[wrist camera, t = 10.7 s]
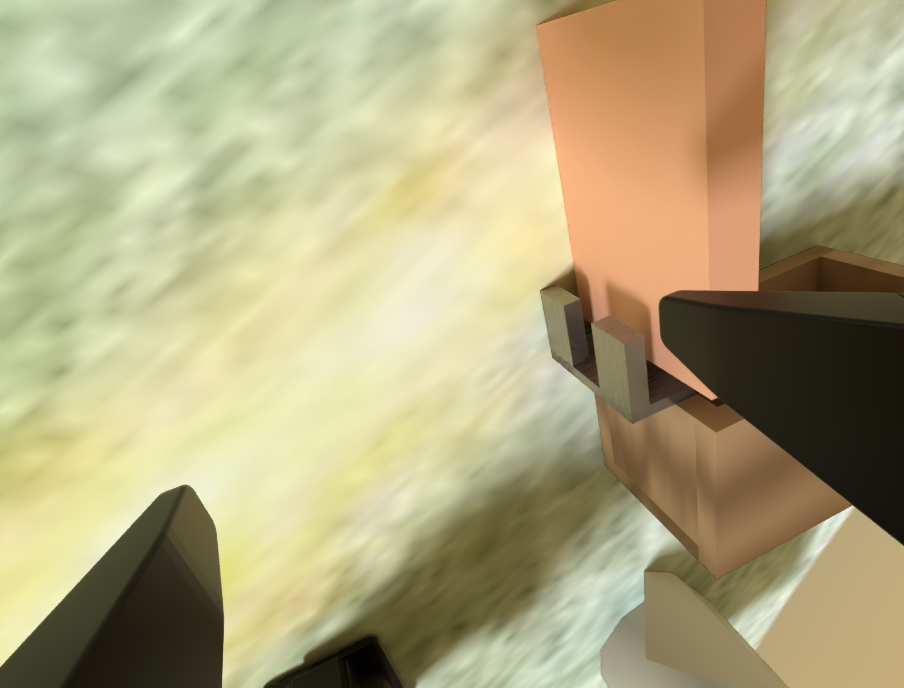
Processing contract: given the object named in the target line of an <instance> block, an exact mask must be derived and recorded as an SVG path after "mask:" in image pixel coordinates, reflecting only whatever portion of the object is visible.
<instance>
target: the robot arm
mask: <svg viewBox="0 0 904 688" xmlns="http://www.w3.org/2000/svg"><path fill="white" fill-rule="evenodd" d="M658 308H659V326H660V337H661V340H662V342H663V344H664V346H665V347H666V348H667V349H668V350H669V351H670V352H671V353H672V354H673V355H674V356H675V357H676V358H677V359H678V360H679V361H680V362H681V363H682V364H683V365H684V366H685V367H687V368H688V369H689V370H690V371H691V372H692V373H693V374H694V375H695V376H696V377H697V378H698V379H699V380H700V381H701V382H702V383H703V384H704V385H705V386H706V387H707V388H708V389H709V390H710V391H711V392H712V393H713V394H715V395H716V396H717V397H718V398H719V399H720V400H721V401H723V402H724V403H725V404H726V405H727V406H729V407H730V408H731V409H732V410H734V411H735V412H736V413H738V414H739V415H740V416H741V417H743V418H744V419H745V420H746V421H748V422H749V423H750V424H751V425H753V426H754V427H755V428H756V429H758V430H759V431H760V432H761V433H763V434H764V435H765V436H766V437H768V438H769V439H770V440H771V441H773V442H774V443H775V444H776V445H778V446H779V447H780V448H781V449H783V450H784V451H785V452H786V453H788V454H789V455H790V456H792V457H793V458H794V459H795V460H797V461H798V462H799V463H800V464H802V465H803V466H804V467H805V468H807V469H808V470H809V471H810V472H812V473H813V474H814V475H815V476H817V477H818V478H819V479H820V480H822V481H823V482H824V483H825V484H827V485H828V486H829V487H830V488H832V489H833V490H834V491H835V492H837V493H838V494H839V495H841V496H842V497H843V498H844V499H846V500H847V501H848V502H849V503H851V504H852V505H853V506H854V507H856V508H857V509H858V510H859V511H861V512H862V513H863V514H864V515H866V516H867V517H868V518H870V519H871V520H872V521H873V522H875V523H876V524H877V525H878V526H880V527H881V528H882V529H883V530H884V531H886V532H887V533H888V534H889V535H891V536H892V537H893V538H895V539H896V540H897V541H898V542H900V543H901V544H902V545H903V546H904V293H899V294H895V293H865V292H790V291H714V290H679V291H676V292H673V293H670V294H668V295H665V296H663V297H662V298H661V299H660V301H659V306H658ZM223 641H224V611H223V597H222V586H221V575H220V564H219V553H218V542H217V532H216V528H215V525H214V522H213V520H212V518H211V517H210V515H209V513H208V512H207V510H206V509H205V507H204V505H203V504H202V502H201V500H200V499H199V497H198V496H197V494H196V492H195V491H194V490H193V488H192V487H190V486H189V485H181V486H179V487H176V488H174V489H171V490H169V491H166V492H164V493H162V494H160V495H159V496H158V497H157V498H156V499H155V500H154V502H153V503H152V504H151V505H150V506H149V507H148V508H147V509H146V510H145V511H144V512H143V513H142V515H141V516H140V517H139V518H138V519H137V520H136V521H135V522H134V523H133V524H132V525H131V526H130V528H129V529H128V530H127V531H126V532H125V533H124V534H123V535H122V536H121V537H120V538H119V539H118V540H117V542H116V543H115V544H114V545H113V546H112V547H111V548H110V549H109V550H108V551H107V552H106V553H105V555H104V556H103V557H102V558H101V559H100V560H99V561H98V562H97V563H96V564H95V565H94V566H93V567H92V569H91V570H90V571H89V572H88V573H87V574H86V575H85V576H84V577H83V578H82V579H81V580H80V582H79V583H78V584H77V585H76V586H75V587H74V588H73V589H72V590H71V591H70V592H69V593H68V594H67V596H66V597H65V598H64V599H63V600H62V601H61V602H60V603H59V604H58V605H57V606H56V607H55V609H54V610H53V611H52V612H51V613H50V614H49V615H48V616H47V617H46V618H45V619H44V620H43V622H42V623H41V624H40V625H39V626H38V627H37V628H36V629H35V630H34V631H33V632H32V633H31V634H30V636H29V637H28V638H27V639H26V640H25V641H24V642H23V643H22V644H21V645H20V646H19V647H18V649H17V650H16V651H15V652H14V653H13V654H12V655H11V656H10V657H9V658H8V659H7V660H6V661H5V663H4V664H3V665H2V666H1V667H0V688H222V669H223ZM268 688H405V686H404V684H403V682H402V680H401V678H400V677H399V675H398V673H397V671H396V669H395V668H394V666H393V664H392V662H391V660H390V658H389V657H388V655H387V653H386V651H385V649H384V647H383V646H382V644H381V642H380V640H379V639H378V638H377V637H369V638H366V639H364V640H362V641H360V642H358V643H356V644H354V645H352V646H350V647H348V648H346V649H344V650H342V651H340V652H338V653H336V654H334V655H332V656H330V657H328V658H326V659H324V660H322V661H320V662H318V663H316V664H314V665H312V666H310V667H308V668H306V669H304V670H302V671H300V672H298V673H296V674H294V675H292V676H290V677H288V678H286V679H284V680H282V681H280V682H278V683H276V684H274V685H272V686H270V687H268Z"/></svg>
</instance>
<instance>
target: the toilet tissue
mask: <svg viewBox="0 0 904 688" xmlns="http://www.w3.org/2000/svg"><path fill="white" fill-rule="evenodd" d="M644 597H645V602H644V603H642V604H641V605H640V606H638V607H637V608H635V609H634V610H632V611H631V612H629V613H628V614H627V615H625V616H624V617H622V619H621V620H620V622H619V623H618V624H617V626H616V627H615V629H614V630H613V632H612V633H611V635H610V636H609V638H608V639H607V641H606V642H605V643H604V645H603V646H602V648H601V649H600V655H601V676H602V678H603V679H604V681H605V683H606V684H607V686H608V687H609V688H789V687H788V686H787V685H786V684H785V683H784V681H783V680H782V679H781V678H780V677H779V676H778V675H777V674H776V673H775V672H774V671H773V670H772V668H770V666H769V665H768V664H767V663H766V662H765V661H764V660H763V659H762V658H761V657H760V656H759V654H758V653H757V652H756V651H755V650H754V649H753V648H752V647H751V646H750V645H749V644H748V642H747V641H746V640H745V639H744V638H743V637H742V636H741V635H740V634H739V633H738V632H737V631H736V630H735V628H734V627H733V626H732V625H731V624H730V623H729V622H728V621H727V620H726V619H725V618H724V617H723V615H722V614H721V613H720V612H719V611H718V610H717V609H716V608H715V607H714V606H713V605H712V604H711V602H710V601H709V600H708V599H706V598H705V597H704V596H702V595H701V594H700V593H698V592H697V591H696V590H694V589H693V588H692V587H690V586H689V585H688V584H686V583H685V582H684V581H682V580H681V579H680V578H678V577H677V576H676V575H674V574H673V573H665V572H650V571H644Z"/></svg>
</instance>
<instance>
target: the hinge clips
mask: <svg viewBox="0 0 904 688" xmlns="http://www.w3.org/2000/svg"><path fill="white" fill-rule="evenodd" d="M540 293H541V299H542V304H543V310H544V315H545V320H546V326H547V331H548V336H549V342H550V347H551V353H552V358H553V359H555V360H556V361H557V362H558V363H559V364H561V365H562V366H563V367H564V368H565V369H567V370H568V371H569V372H570V373H571V374H573V375H574V376H575V377H576V378H578V379H579V380H580V381H581V382H582V383H584V384H585V385H586V386H587V387H588V388H590V389H591V390H592V391H593V392H594V393H596V394H597V395H598V396H599V397H600V398H602V399H603V400H604V401H605V402H606V403H608V404H609V405H610V406H611V407H612V408H614V409H615V410H616V411H617V412H618V413H620V414H621V415H622V416H623V417H624V418H626V419H627V420H628V421H629V422H630V423H632V424H634V423H636V422H638V421H640V420H642V419H645V418H647V417H649V416H651V415H653V414H655V413H657V412H660V411H662V410H664V409H666V408H668V407H670V406H673V405H675V404H677V403H679V402H681V401H683V400H685V399H688V398H690V397H692V396H694V395H696V394H698V393H699V392H698V391H696V390H695V389H693V388H692V387H690V386H688V385H687V384H685V383H684V382H682V381H680V380H679V379H677V378H676V377H674V376H673V375H671V374H669V373H668V372H666V371H665V370H663V369H661V368H660V367H658V366H657V365H655V364H654V363H652V362H650V361H649V360H647V359H646V354H645V342H644V335H642V334H640V333H639V332H637V331H635V330H634V329H632V328H630V327H628V326H627V325H625V324H623V323H621V322H620V321H618V320H616V319H614V318H613V317H611V316H607V317H605V318H602V319H600V320H598V321H595V322H593V323H591V327H592V332H589V333H587V334H586V333H585V326H584V319H583V312H582V306H581V299H580V298H578V297H576V296H575V295H573V294H571V293H569V292H568V291H566V290H564V289H562V288H561V287H559V286H557V285H554V286H552V287H549V288H547V289H544V290H542V291H540Z"/></svg>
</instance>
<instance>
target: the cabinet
mask: <svg viewBox="0 0 904 688" xmlns="http://www.w3.org/2000/svg"><path fill="white" fill-rule="evenodd" d="M758 291H790V292H865V293H895V294H899V293H904V266H903V265H899V264H895V263H890V262H886V261H882V260H878V259H873V258H869V257H865V256H861V255H856V254H852V253H848V252H844V251H839V250H835V249H831V248H827V247H823V246H815V247H813V248H810V249H808V250H806V251H803V252H801V253H799V254H796V255H794V256H792V257H789V258H787V259H784V260H782V261H780V262H777V263H775V264H773V265H770V266H768V267H766V268H763V269H761V270H759V277H758ZM595 399H596V406H597V413H598V420H599V426H600V433H601V440H602V447H603V454H604V461H605V466H606V467H607V468H608V469H609V470H610V471H611V472H612V473H613V474H614V475H615V476H616V477H617V478H618V479H619V480H620V481H621V482H622V483H623V484H624V485H625V486H626V488H627V489H628V490H629V491H630V492H631V493H632V494H633V495H634V496H635V497H636V498H637V499H638V500H639V501H640V502H641V503H642V504H643V505H644V506H645V507H646V508H647V509H648V510H649V511H650V512H651V513H652V514H653V515H654V516H655V517H656V518H657V519H658V520H659V521H660V522H661V523H662V524H663V525H664V526H665V527H666V528H667V529H668V530H669V531H670V532H671V533H672V534H673V535H674V536H675V537H676V538H677V539H678V540H679V541H680V542H681V543H682V544H683V545H684V546H685V548H686V549H687V550H688V551H689V552H690V553H691V554H692V555H693V556H694V557H695V558H696V559H697V560H698V561H699V562H700V563H701V564H702V565H703V566H704V567H705V568H706V569H707V570H708V571H709V572H710V573H711V574H712V575H713V576H714V577H715V578H716V579H719V578H721V577H722V576H724V575H726V574H728V573H730V572H732V571H733V570H735V569H737V568H739V567H741V566H743V565H744V564H746V563H748V562H750V561H752V560H753V559H755V558H757V557H759V556H761V555H763V554H764V553H766V552H768V551H770V550H772V549H774V548H775V547H777V546H779V545H781V544H783V543H785V542H786V541H788V540H790V539H792V538H794V537H796V536H797V535H799V534H801V533H803V532H805V531H807V530H808V529H810V528H812V527H814V526H816V525H818V524H819V523H821V522H823V521H825V520H827V519H828V518H830V517H832V516H834V515H836V514H838V513H839V512H841V511H843V510H845V509H847V508H849V507H850V506H852V504H851V503H849V502H848V501H847V500H846V499H844V498H843V497H842V496H841V495H839V494H838V493H837V492H835V491H834V490H833V489H832V488H830V487H829V486H828V485H827V484H825V483H824V482H823V481H822V480H820V479H819V478H818V477H817V476H815V475H814V474H813V473H812V472H810V471H809V470H808V469H807V468H805V467H804V466H803V465H802V464H800V463H799V462H798V461H797V460H795V459H794V458H793V457H792V456H790V455H789V454H788V453H786V452H785V451H784V450H783V449H781V448H780V447H779V446H778V445H776V444H775V443H774V442H773V441H771V440H770V439H769V438H768V437H766V436H765V435H764V434H763V433H761V432H760V431H759V430H758V429H756V428H755V427H754V426H753V425H751V424H750V423H749V422H748V421H746V420H745V419H744V418H743V417H741V416H740V415H739V414H738V413H736V412H735V411H734V410H732V409H731V408H730V407H729V406H727V405H726V404H725V403H724V402H723V401H721V400H720V399H719V398H716V399H714V400H711V399H709V398H707V397H706V396H704V395H703V394H701V393H698V394H696V395H694V396H692V397H690V398H688V399H685V400H683V401H681V402H679V403H677V404H675V405H673V406H670V407H668V408H666V409H664V410H662V411H660V412H657V413H655V414H653V415H651V416H649V417H647V418H645V419H642V420H640V421H638V422H636V423H634V424H632V423H630V422H629V421H628V420H627V419H626V418H624V417H623V416H622V415H621V414H620V413H618V412H617V411H616V410H615V409H614V408H612V407H611V406H610V405H609V404H608V403H606V402H605V401H604V400H603V399H602V398H600V397H599V396H598V395H597V394H596V393H595Z"/></svg>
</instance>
